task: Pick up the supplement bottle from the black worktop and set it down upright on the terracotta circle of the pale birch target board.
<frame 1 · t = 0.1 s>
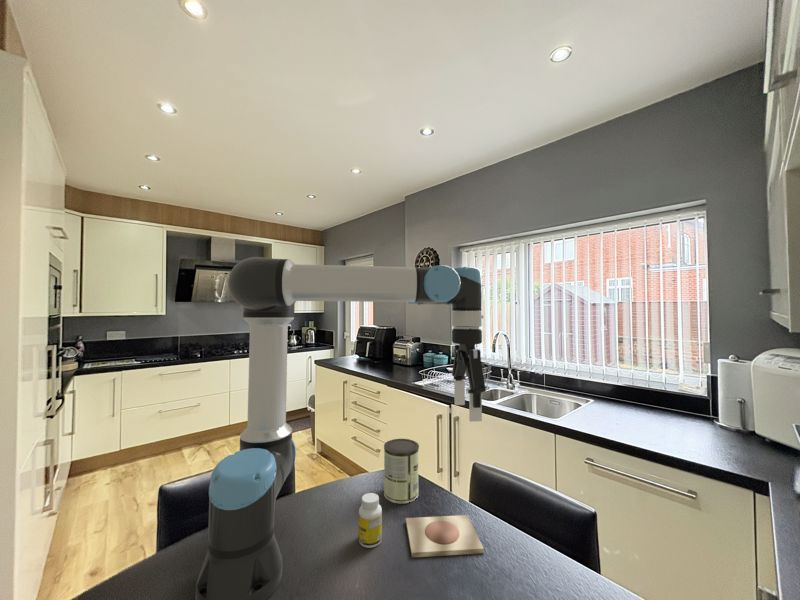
hand: (466, 412, 82), 28 cm above the table, tool pointing down, fingers open, 13 cm apart
target board: (442, 536, 77), on the table
supplement bottle: (370, 541, 75), on the table
coffee can: (401, 494, 95), on the table
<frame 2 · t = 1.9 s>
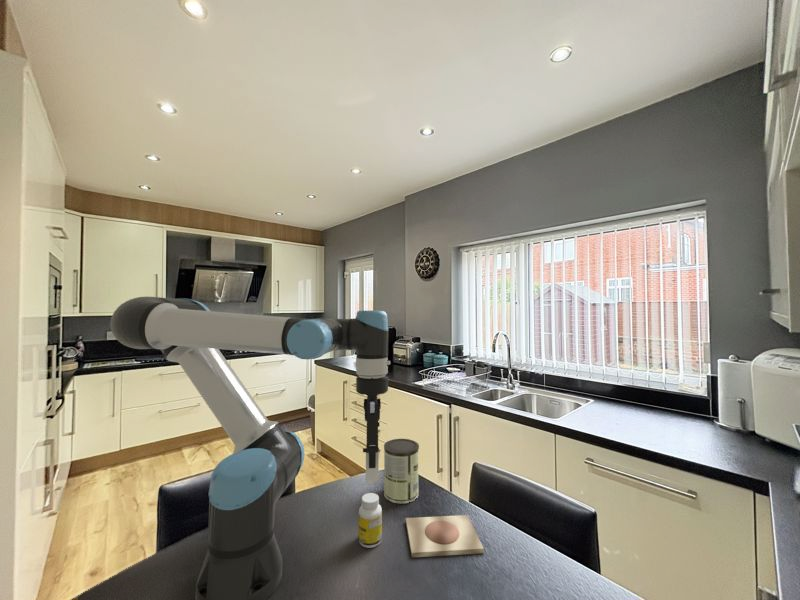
hand: (371, 466, 76), 17 cm above the table, tool pointing down, fingers open, 13 cm apart
nothing on the table moved.
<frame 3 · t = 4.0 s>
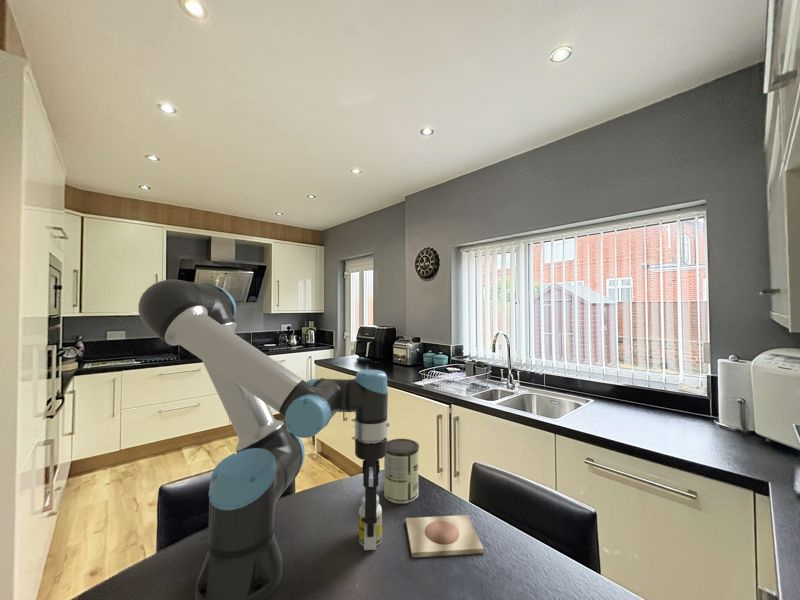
hand: (370, 539, 75), 0 cm above the table, tool pointing down, fingers closed on supplement bottle, 5 cm apart
supplement bottle: (370, 541, 75), on the table, touching gripper
everything else where it was.
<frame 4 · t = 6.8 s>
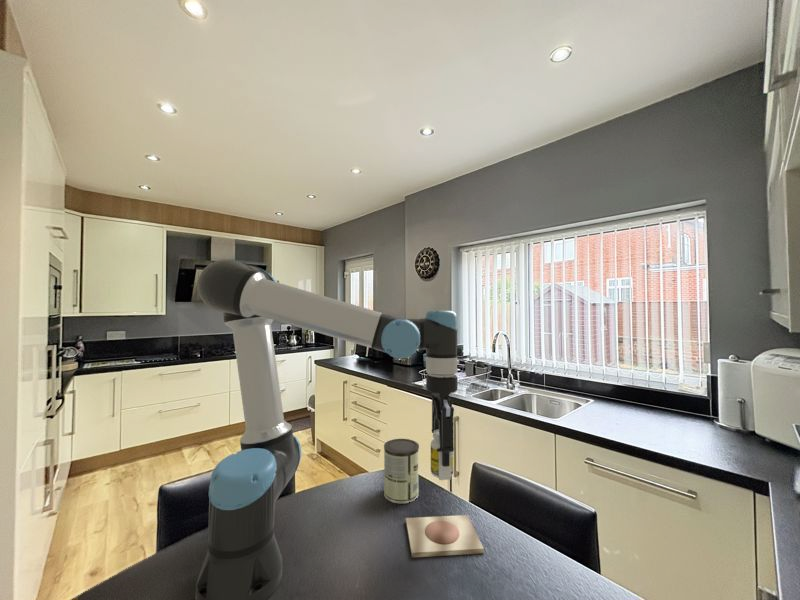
hand: (441, 472, 77), 15 cm above the table, tool pointing down, fingers closed on supplement bottle, 5 cm apart
supplement bottle: (442, 474, 77), point 14 cm above the table, touching gripper
everything else where it was.
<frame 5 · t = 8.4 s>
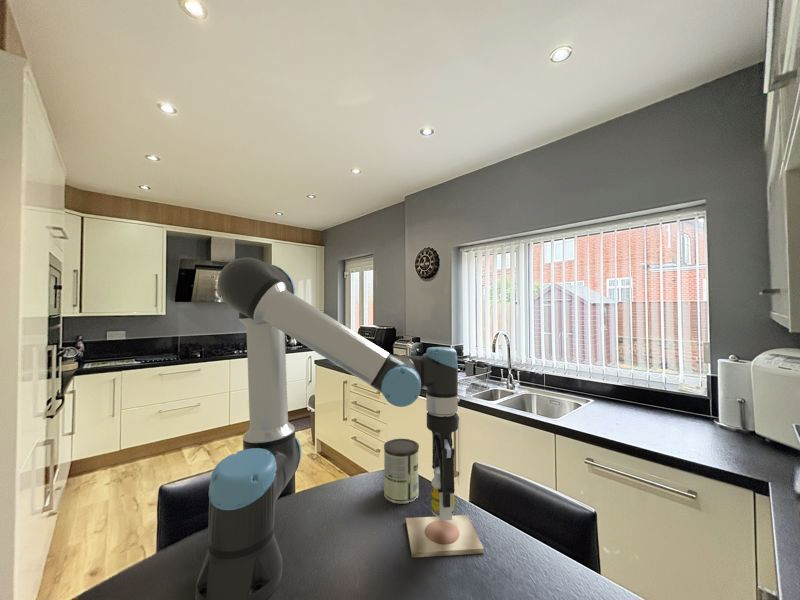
hand: (442, 510, 77), 6 cm above the table, tool pointing down, fingers closed on supplement bottle, 5 cm apart
supplement bottle: (442, 513, 77), point 5 cm above the table, touching gripper
everything else where it was.
when the fingers open (2 cm above the table, at t = 9.8 s): supplement bottle stays where it is, resting on target board.
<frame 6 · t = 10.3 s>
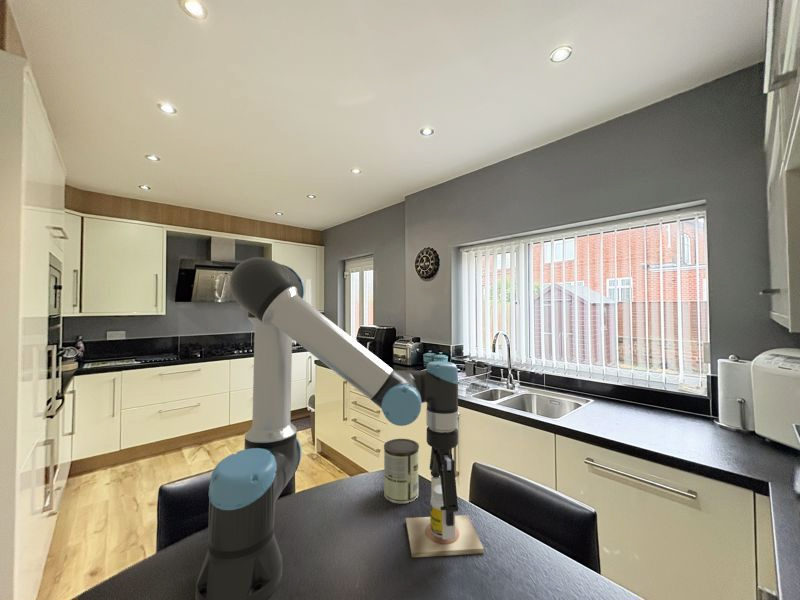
hand: (442, 519, 77), 4 cm above the table, tool pointing down, fingers open, 12 cm apart
supplement bottle: (441, 532, 77), point 1 cm above the table, touching target board
everything else where it was.
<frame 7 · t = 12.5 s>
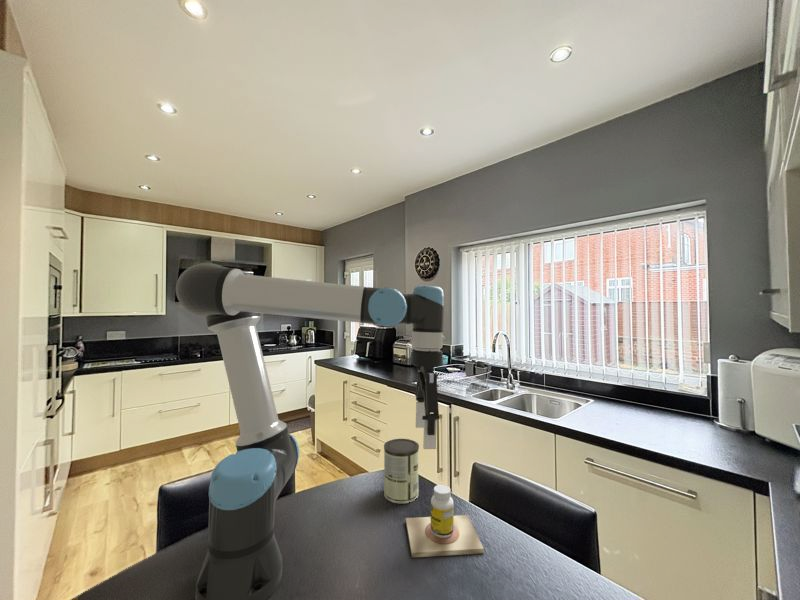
hand: (424, 437, 79), 23 cm above the table, tool pointing down, fingers open, 13 cm apart
nothing on the table moved.
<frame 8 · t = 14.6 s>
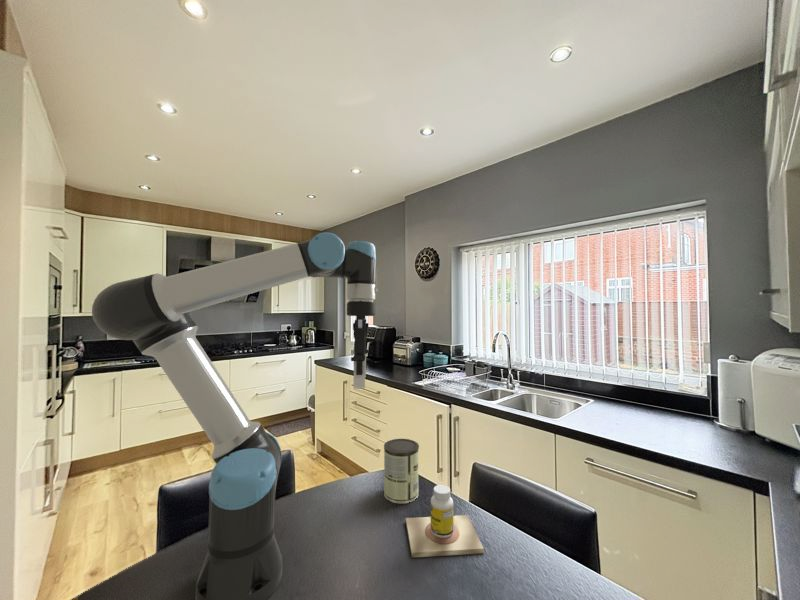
hand: (360, 382, 85), 35 cm above the table, tool pointing down, fingers open, 13 cm apart
nothing on the table moved.
at the end: supplement bottle inside the target area on the target board (0.0 cm from its centre), point 1.0 cm above the target board's base; supplement bottle tilted 0°; the gripper is holding nothing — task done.
